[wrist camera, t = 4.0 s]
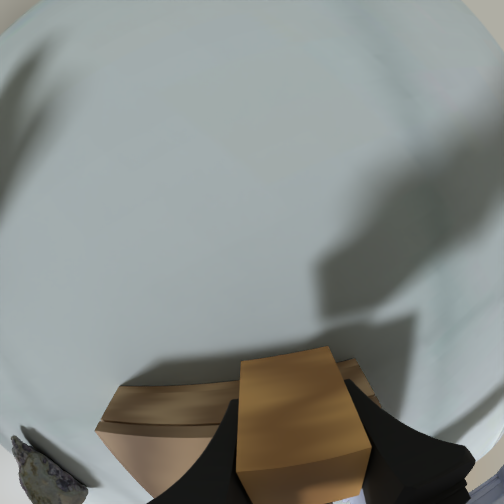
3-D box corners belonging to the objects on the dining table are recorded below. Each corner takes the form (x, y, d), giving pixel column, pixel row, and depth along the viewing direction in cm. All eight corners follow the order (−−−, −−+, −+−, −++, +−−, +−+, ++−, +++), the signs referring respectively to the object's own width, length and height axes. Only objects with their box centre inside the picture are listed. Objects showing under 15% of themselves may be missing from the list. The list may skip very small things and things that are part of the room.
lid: (365, 367, 15) (393, 416, 11) (354, 464, 18) (366, 501, 14) (104, 395, 16) (79, 438, 12) (166, 482, 19) (158, 517, 15)
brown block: (328, 345, 12) (371, 447, 6) (330, 404, 13) (359, 495, 7) (240, 361, 12) (236, 471, 6) (255, 417, 13) (258, 513, 7)
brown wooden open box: (355, 358, 18) (374, 393, 14) (349, 448, 21) (359, 479, 17) (119, 386, 18) (100, 419, 14) (170, 466, 21) (163, 495, 17)
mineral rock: (15, 424, 22) (-15, 465, 12) (71, 455, 22) (45, 508, 12) (43, 468, 25) (23, 504, 15) (94, 493, 25) (78, 535, 16)
